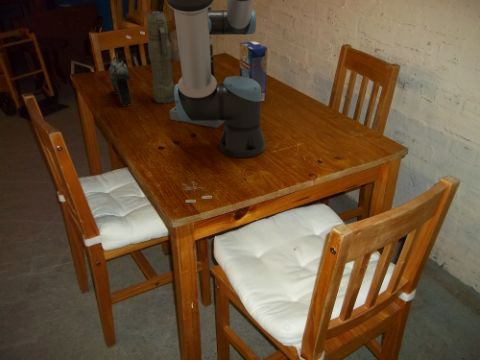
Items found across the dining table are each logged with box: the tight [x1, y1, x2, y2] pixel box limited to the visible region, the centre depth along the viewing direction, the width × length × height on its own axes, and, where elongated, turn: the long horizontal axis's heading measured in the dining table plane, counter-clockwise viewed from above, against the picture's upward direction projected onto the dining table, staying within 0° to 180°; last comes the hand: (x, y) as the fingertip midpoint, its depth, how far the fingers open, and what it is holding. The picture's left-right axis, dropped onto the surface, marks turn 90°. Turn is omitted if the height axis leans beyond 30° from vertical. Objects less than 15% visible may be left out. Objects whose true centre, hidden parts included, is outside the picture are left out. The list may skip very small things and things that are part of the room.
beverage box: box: [239, 40, 268, 102], centre depth 172 cm, size 7×11×22 cm, turn 26°
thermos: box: [146, 10, 175, 105], centre depth 166 cm, size 9×12×35 cm
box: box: [169, 105, 225, 129], centre depth 163 cm, size 20×20×4 cm
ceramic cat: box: [108, 52, 132, 106], centre depth 170 cm, size 20×6×20 cm, turn 25°
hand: (204, 104), depth 161 cm, fingers open, 7 cm apart
